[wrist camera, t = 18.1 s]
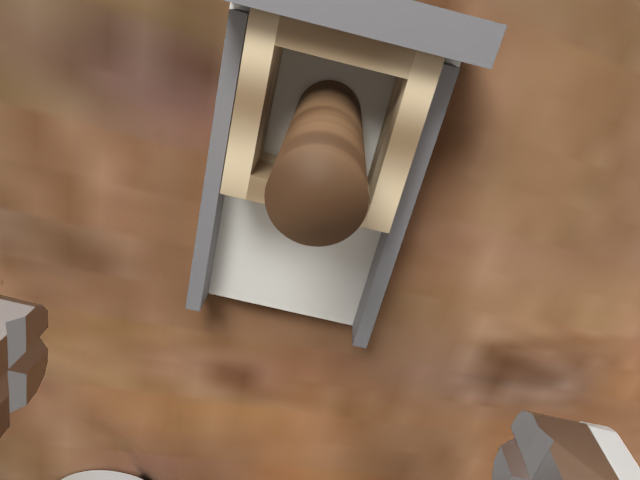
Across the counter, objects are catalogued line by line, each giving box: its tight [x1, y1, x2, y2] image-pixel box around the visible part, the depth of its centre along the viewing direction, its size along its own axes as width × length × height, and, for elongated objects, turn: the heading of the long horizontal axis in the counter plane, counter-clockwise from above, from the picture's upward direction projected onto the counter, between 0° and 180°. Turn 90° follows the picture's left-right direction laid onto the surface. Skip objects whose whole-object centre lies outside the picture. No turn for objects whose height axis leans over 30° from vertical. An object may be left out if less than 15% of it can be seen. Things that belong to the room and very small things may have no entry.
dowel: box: [264, 80, 369, 247], centre depth 26 cm, size 4×4×14 cm
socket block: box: [220, 7, 445, 233], centre depth 30 cm, size 10×10×5 cm
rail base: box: [186, 0, 507, 348], centre depth 31 cm, size 22×14×8 cm, turn 167°
